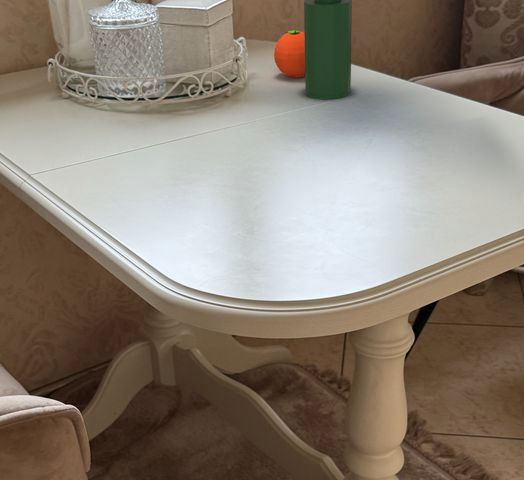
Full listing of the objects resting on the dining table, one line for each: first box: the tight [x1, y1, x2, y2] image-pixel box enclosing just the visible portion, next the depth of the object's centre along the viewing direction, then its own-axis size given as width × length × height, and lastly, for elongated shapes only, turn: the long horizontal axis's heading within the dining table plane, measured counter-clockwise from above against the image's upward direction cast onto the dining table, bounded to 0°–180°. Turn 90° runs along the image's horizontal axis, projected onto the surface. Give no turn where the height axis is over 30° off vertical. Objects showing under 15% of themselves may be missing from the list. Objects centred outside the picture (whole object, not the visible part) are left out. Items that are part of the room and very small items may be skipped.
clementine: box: [273, 29, 305, 78], centre depth 126 cm, size 8×7×7 cm
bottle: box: [303, 0, 353, 100], centre depth 115 cm, size 7×7×17 cm
